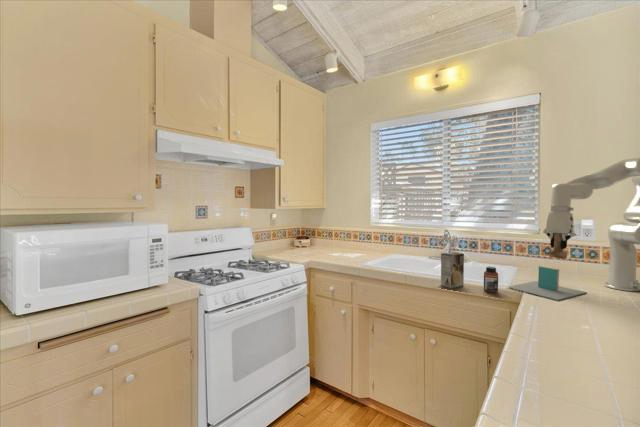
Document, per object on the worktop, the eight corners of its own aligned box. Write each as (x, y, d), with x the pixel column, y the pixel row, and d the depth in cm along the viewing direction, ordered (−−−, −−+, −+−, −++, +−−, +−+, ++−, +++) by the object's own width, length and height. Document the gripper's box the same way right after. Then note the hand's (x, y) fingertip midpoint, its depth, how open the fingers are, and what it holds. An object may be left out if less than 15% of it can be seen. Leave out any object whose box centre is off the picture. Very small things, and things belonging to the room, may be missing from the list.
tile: (558, 290, 148) (559, 269, 148) (556, 291, 147) (557, 269, 147) (539, 286, 155) (540, 266, 155) (538, 286, 155) (538, 266, 154)
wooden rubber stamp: (566, 258, 152) (568, 231, 151) (562, 258, 150) (564, 231, 150) (552, 256, 157) (554, 229, 157) (548, 256, 156) (550, 230, 155)
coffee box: (453, 283, 164) (453, 251, 163) (463, 286, 158) (464, 253, 157) (440, 285, 160) (440, 253, 159) (450, 288, 154) (451, 255, 153)
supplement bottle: (486, 288, 153) (486, 265, 153) (499, 291, 149) (500, 267, 149) (481, 291, 149) (482, 267, 149) (495, 294, 145) (496, 269, 145)
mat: (586, 293, 146) (586, 292, 146) (557, 301, 135) (557, 299, 135) (535, 282, 166) (535, 281, 166) (506, 288, 155) (506, 286, 155)
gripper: (585, 210, 147) (582, 250, 148) (545, 209, 162) (544, 245, 163) (576, 210, 144) (574, 251, 144) (537, 209, 158) (535, 246, 159)
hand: (558, 247), depth 153 cm, fingers closed on wooden rubber stamp, 3 cm apart
